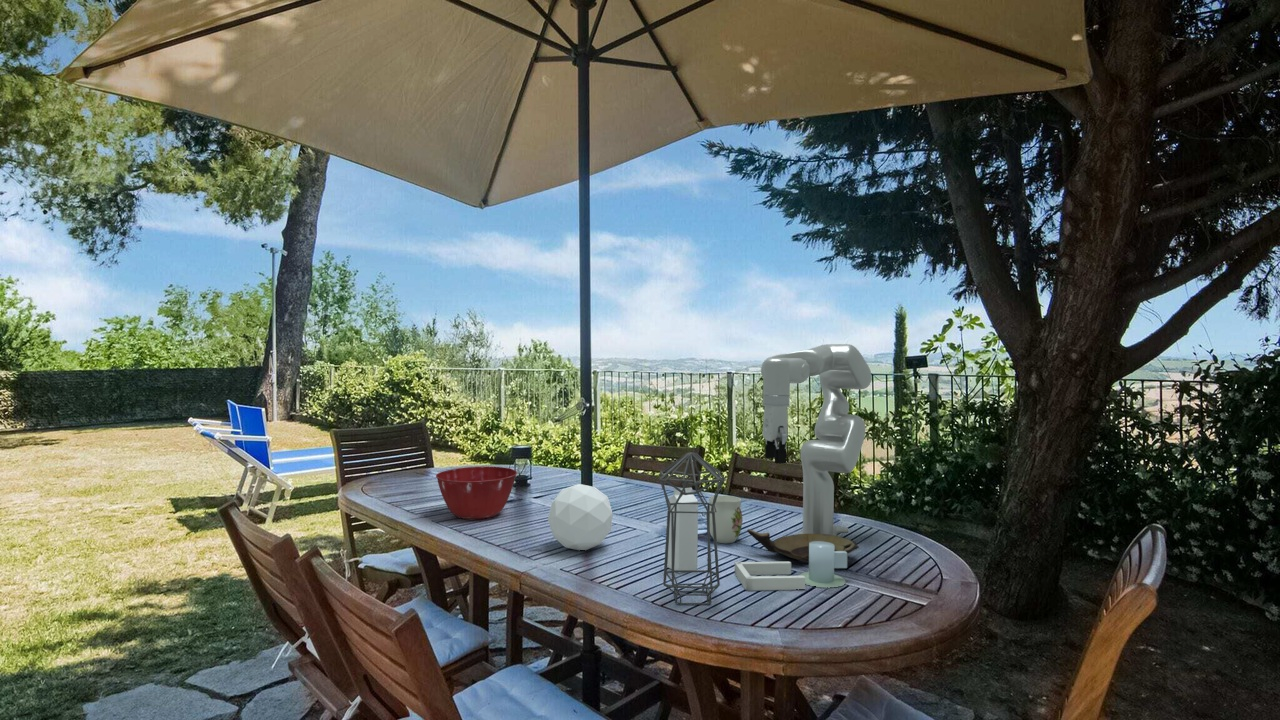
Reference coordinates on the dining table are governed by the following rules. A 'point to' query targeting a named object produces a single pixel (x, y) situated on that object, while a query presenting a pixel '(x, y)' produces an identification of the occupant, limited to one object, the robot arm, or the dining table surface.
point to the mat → (837, 582)
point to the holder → (767, 582)
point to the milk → (684, 533)
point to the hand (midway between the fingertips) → (775, 460)
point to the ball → (580, 517)
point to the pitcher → (726, 518)
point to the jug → (824, 561)
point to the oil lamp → (801, 544)
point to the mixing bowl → (476, 490)
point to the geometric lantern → (718, 480)
